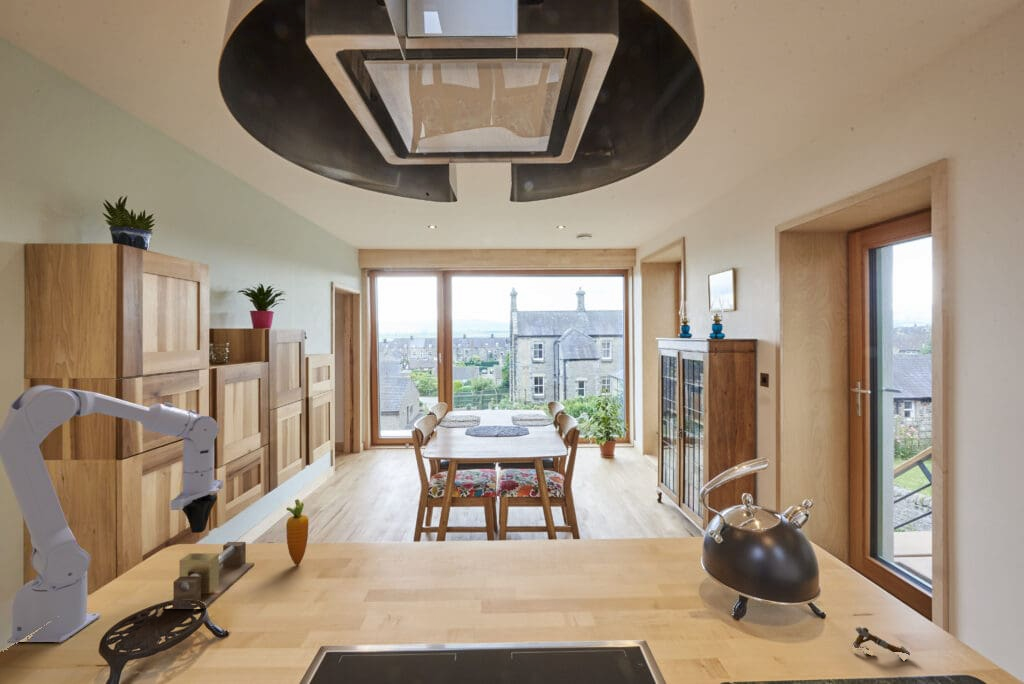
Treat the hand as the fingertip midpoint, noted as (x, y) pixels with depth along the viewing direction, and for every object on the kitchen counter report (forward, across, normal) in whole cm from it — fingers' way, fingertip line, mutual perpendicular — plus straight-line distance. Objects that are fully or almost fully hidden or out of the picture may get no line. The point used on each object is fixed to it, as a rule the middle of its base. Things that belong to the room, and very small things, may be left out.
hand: (198, 531), depth 102 cm
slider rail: (+10, -3, -5) cm, 12 cm away
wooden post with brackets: (+11, -27, -130) cm, 133 cm away
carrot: (+11, +6, -19) cm, 23 cm away
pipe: (+7, -3, -5) cm, 9 cm away
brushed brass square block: (+9, -7, -5) cm, 13 cm away
